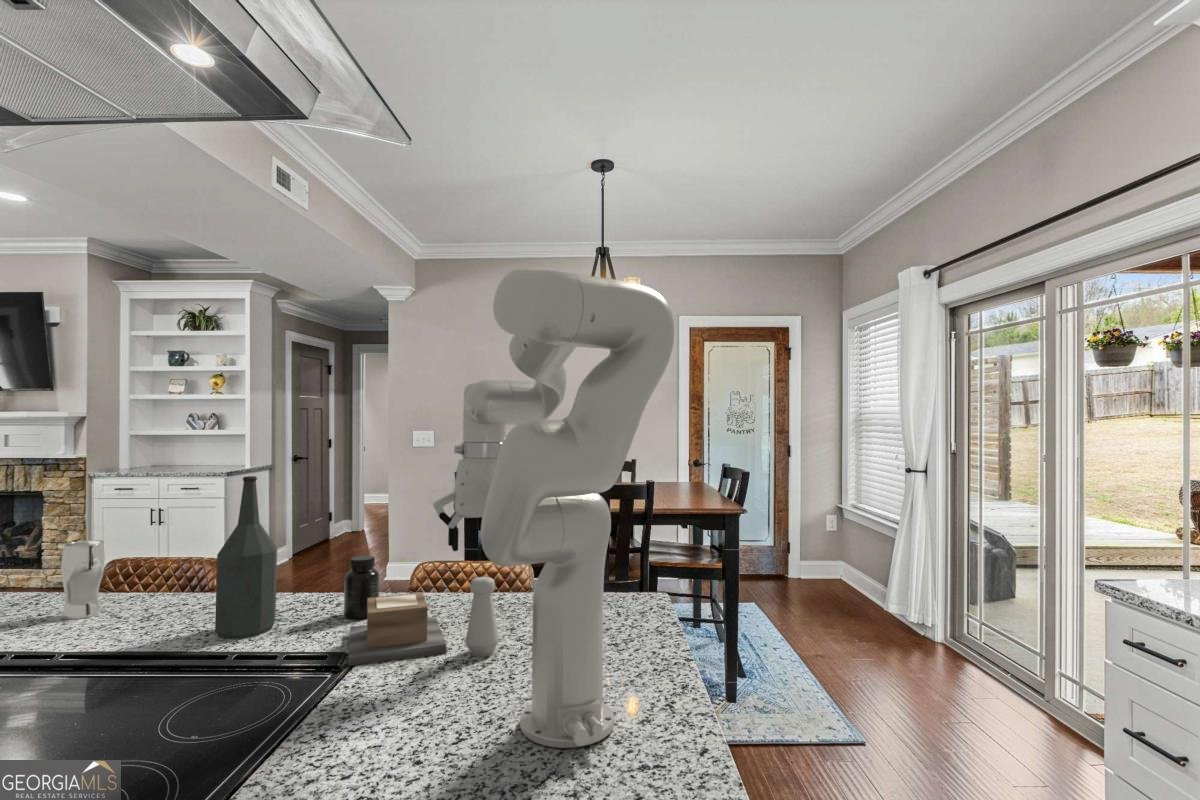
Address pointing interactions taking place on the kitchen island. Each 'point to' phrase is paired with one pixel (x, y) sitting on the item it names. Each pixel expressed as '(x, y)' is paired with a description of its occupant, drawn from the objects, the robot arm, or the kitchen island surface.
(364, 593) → the supplement bottle
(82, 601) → the beer glass
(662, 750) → the kitchen island surface
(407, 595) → the plinth
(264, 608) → the bottle
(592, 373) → the robot arm
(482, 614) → the salt shaker
